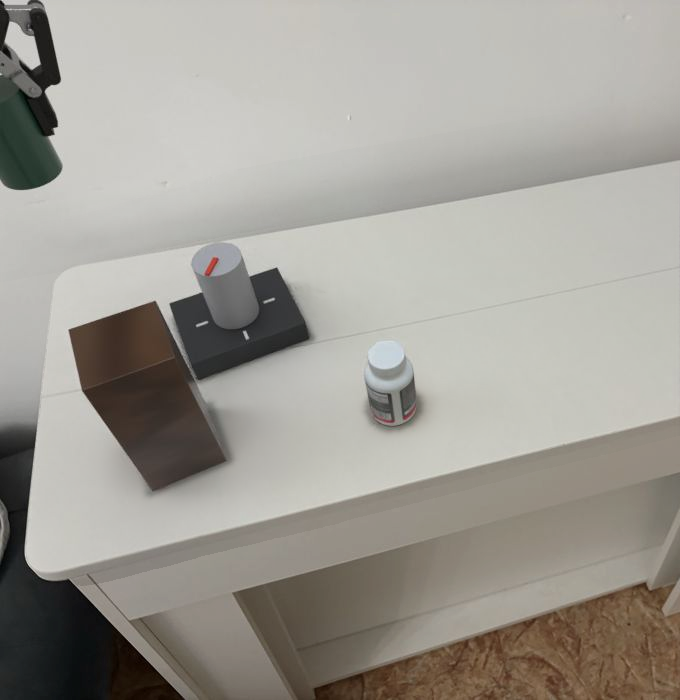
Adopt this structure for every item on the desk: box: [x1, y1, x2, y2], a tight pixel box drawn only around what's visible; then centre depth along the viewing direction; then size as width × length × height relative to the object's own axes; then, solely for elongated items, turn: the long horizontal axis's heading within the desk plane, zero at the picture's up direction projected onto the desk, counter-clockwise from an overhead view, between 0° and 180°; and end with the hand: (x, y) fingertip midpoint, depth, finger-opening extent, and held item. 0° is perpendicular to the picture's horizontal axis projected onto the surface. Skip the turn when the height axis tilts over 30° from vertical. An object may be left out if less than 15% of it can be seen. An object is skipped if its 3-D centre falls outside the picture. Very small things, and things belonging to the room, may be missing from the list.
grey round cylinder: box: [190, 241, 259, 329], centre depth 84 cm, size 6×6×9 cm
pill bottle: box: [363, 339, 418, 427], centre depth 78 cm, size 5×5×10 cm
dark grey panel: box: [168, 266, 310, 381], centre depth 88 cm, size 14×11×3 cm
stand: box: [67, 300, 227, 492], centre depth 71 cm, size 8×8×18 cm
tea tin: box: [0, 74, 64, 191], centre depth 61 cm, size 5×5×8 cm
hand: (13, 139), depth 61 cm, fingers closed on tea tin, 5 cm apart
